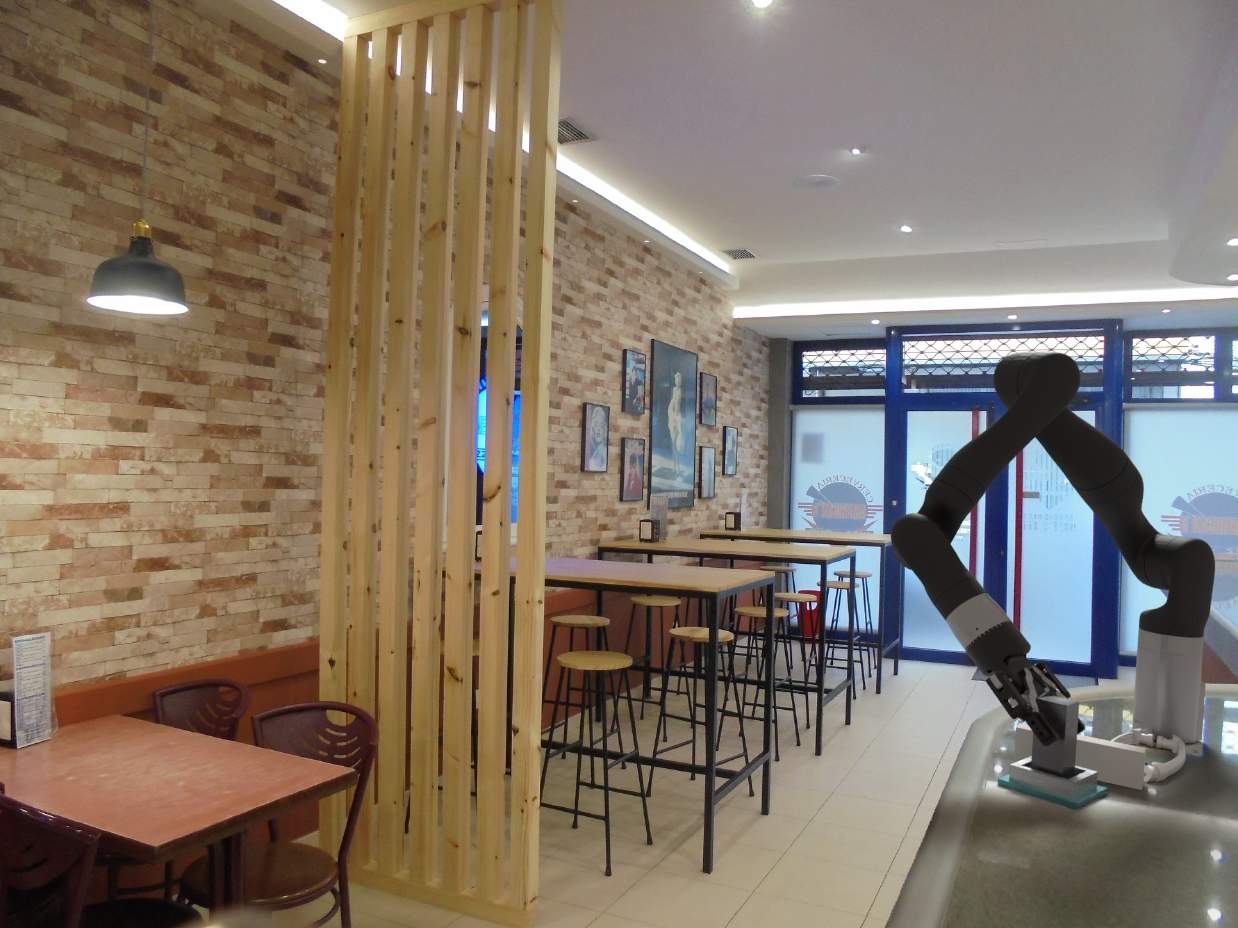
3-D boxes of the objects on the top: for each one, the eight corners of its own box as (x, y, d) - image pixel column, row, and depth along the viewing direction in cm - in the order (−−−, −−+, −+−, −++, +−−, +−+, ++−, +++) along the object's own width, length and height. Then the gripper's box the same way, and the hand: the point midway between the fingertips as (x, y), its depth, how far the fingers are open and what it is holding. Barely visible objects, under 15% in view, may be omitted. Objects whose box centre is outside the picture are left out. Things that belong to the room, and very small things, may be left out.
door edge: (1013, 761, 128) (1016, 727, 128) (1017, 756, 131) (1019, 722, 131) (1142, 790, 120) (1144, 752, 120) (1143, 784, 122) (1145, 747, 122)
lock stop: (1042, 775, 121) (1048, 694, 121) (1073, 784, 118) (1079, 701, 118) (1030, 780, 118) (1035, 697, 118) (1061, 790, 115) (1067, 705, 115)
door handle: (1196, 754, 141) (1168, 791, 121) (1125, 738, 147) (1088, 771, 128) (1197, 736, 141) (1170, 771, 121) (1126, 722, 147) (1090, 752, 128)
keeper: (1030, 770, 125) (1031, 750, 125) (1107, 793, 117) (1108, 772, 117) (997, 784, 118) (999, 763, 118) (1076, 809, 111) (1078, 787, 111)
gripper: (982, 622, 119) (1066, 731, 110) (1029, 615, 128) (1110, 715, 119) (942, 653, 122) (1020, 761, 114) (990, 644, 132) (1066, 743, 123)
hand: (1066, 737), depth 117 cm, fingers open, 8 cm apart
